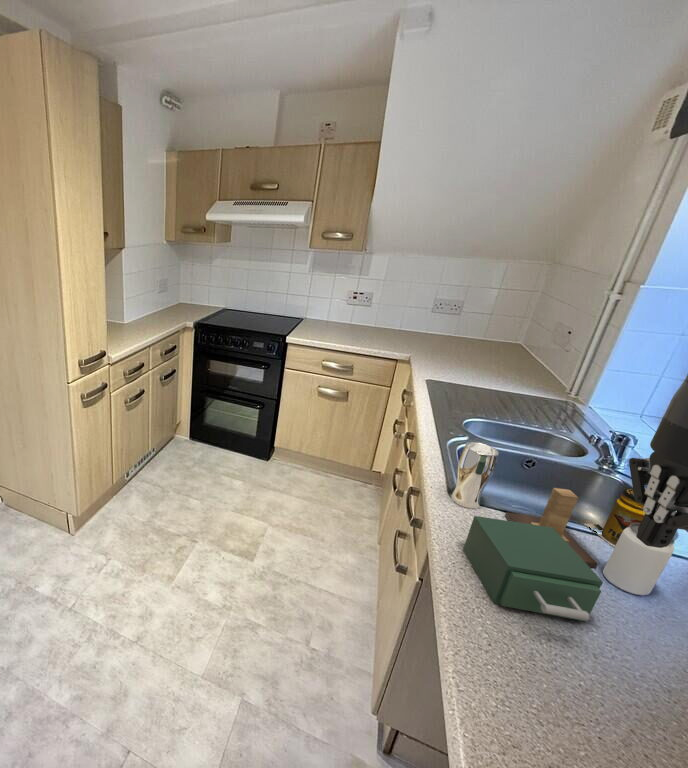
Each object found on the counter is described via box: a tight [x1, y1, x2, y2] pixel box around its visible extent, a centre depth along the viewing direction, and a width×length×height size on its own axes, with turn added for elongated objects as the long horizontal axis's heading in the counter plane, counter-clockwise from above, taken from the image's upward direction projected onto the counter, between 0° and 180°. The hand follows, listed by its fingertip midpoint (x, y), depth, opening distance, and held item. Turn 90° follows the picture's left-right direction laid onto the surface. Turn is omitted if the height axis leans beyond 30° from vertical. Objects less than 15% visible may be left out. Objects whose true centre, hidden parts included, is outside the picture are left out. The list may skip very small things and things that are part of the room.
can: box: [602, 523, 675, 596], centre depth 77 cm, size 6×6×12 cm
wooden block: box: [530, 487, 579, 543], centre depth 88 cm, size 5×5×11 cm
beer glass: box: [450, 441, 500, 510], centre depth 100 cm, size 7×7×15 cm
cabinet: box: [462, 515, 604, 606], centre depth 78 cm, size 14×14×9 cm
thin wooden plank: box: [504, 511, 599, 569], centre depth 90 cm, size 10×14×1 cm
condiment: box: [583, 487, 645, 549], centre depth 89 cm, size 7×8×12 cm
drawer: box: [499, 571, 602, 622], centre depth 74 cm, size 17×13×7 cm
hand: (649, 542), depth 54 cm, fingers closed
